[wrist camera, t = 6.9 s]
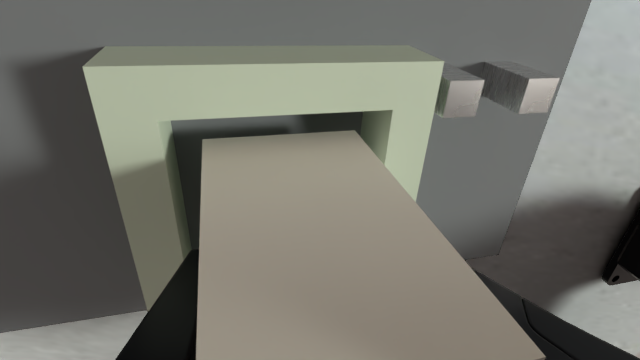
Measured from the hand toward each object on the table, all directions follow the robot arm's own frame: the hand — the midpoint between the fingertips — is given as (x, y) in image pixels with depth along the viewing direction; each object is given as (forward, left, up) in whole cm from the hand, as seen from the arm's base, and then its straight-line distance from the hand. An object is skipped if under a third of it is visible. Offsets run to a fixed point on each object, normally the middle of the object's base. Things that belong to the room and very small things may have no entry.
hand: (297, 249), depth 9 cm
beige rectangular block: (0, 0, -2) cm, 2 cm away
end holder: (0, 0, -4) cm, 4 cm away
